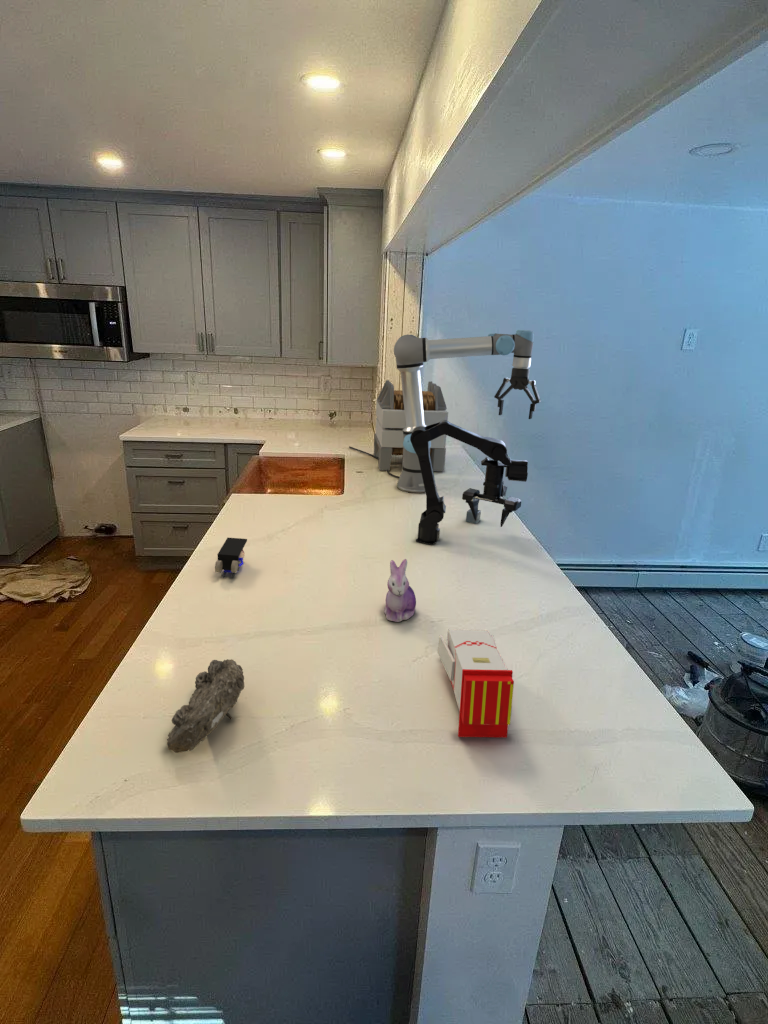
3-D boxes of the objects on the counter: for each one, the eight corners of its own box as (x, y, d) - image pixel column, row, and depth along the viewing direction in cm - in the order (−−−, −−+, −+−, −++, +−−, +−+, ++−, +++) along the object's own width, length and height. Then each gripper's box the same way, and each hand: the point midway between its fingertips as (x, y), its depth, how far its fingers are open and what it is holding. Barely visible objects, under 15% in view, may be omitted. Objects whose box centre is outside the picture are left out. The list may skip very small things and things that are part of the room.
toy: (488, 613, 130) (523, 677, 101) (484, 667, 133) (517, 744, 104) (435, 612, 130) (455, 676, 101) (432, 666, 133) (451, 743, 103)
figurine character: (238, 584, 162) (249, 557, 175) (236, 562, 158) (247, 536, 172) (215, 584, 161) (227, 556, 175) (212, 561, 158) (225, 535, 171)
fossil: (192, 660, 117) (244, 628, 112) (224, 691, 120) (276, 661, 115) (142, 746, 98) (202, 712, 93) (182, 779, 101) (242, 748, 96)
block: (475, 524, 212) (476, 513, 211) (465, 521, 214) (466, 511, 213) (479, 520, 216) (481, 510, 215) (469, 518, 218) (470, 508, 217)
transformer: (372, 454, 306) (375, 377, 292) (432, 454, 310) (437, 379, 296) (379, 471, 275) (382, 386, 261) (445, 472, 278) (452, 388, 265)
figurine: (392, 627, 141) (395, 572, 136) (374, 608, 149) (376, 556, 144) (425, 619, 145) (429, 566, 140) (405, 601, 154) (408, 550, 149)
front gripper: (529, 478, 187) (523, 523, 192) (476, 468, 196) (472, 511, 201) (518, 486, 178) (512, 532, 183) (463, 475, 187) (459, 519, 192)
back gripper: (552, 369, 241) (545, 419, 249) (496, 364, 253) (491, 412, 260) (547, 370, 235) (540, 421, 243) (490, 365, 247) (485, 414, 254)
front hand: (488, 523), depth 190 cm, fingers open, 9 cm apart
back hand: (515, 416), depth 251 cm, fingers open, 13 cm apart
